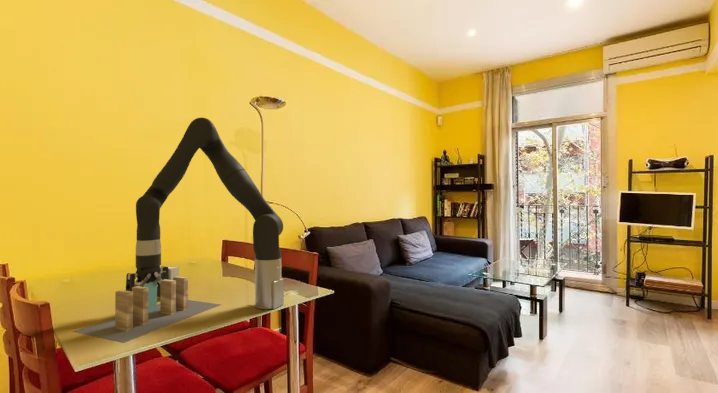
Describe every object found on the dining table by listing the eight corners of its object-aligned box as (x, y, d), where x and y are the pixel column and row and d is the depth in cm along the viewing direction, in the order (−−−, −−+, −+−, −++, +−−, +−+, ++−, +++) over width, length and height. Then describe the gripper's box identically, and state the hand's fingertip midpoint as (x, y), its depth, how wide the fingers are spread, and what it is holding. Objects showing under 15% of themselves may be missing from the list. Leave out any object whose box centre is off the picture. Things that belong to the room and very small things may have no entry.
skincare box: (180, 297, 138) (180, 266, 138) (170, 300, 134) (170, 268, 134) (167, 296, 140) (167, 265, 140) (158, 299, 136) (158, 267, 136)
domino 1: (121, 326, 106) (121, 290, 106) (132, 328, 104) (132, 291, 104) (115, 328, 104) (115, 291, 104) (126, 330, 102) (127, 293, 102)
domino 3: (137, 321, 110) (137, 286, 110) (148, 323, 108) (148, 287, 109) (131, 322, 109) (131, 287, 109) (143, 325, 107) (143, 289, 107)
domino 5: (177, 307, 124) (177, 276, 124) (188, 308, 122) (188, 277, 122) (173, 308, 123) (173, 277, 123) (183, 310, 121) (183, 278, 121)
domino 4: (165, 311, 120) (165, 279, 120) (175, 313, 118) (175, 280, 118) (160, 313, 118) (160, 280, 118) (171, 314, 116) (171, 281, 116)
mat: (221, 305, 127) (221, 304, 127) (123, 344, 94) (123, 342, 94) (176, 299, 135) (176, 298, 135) (72, 332, 102) (72, 331, 102)
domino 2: (156, 309, 122) (156, 277, 122) (143, 313, 117) (143, 281, 117) (153, 308, 122) (153, 277, 123) (139, 313, 118) (139, 280, 118)
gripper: (136, 256, 112) (136, 307, 112) (174, 250, 125) (174, 295, 125) (120, 255, 115) (120, 304, 115) (159, 249, 128) (159, 293, 128)
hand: (148, 300), depth 120 cm, fingers open, 8 cm apart
